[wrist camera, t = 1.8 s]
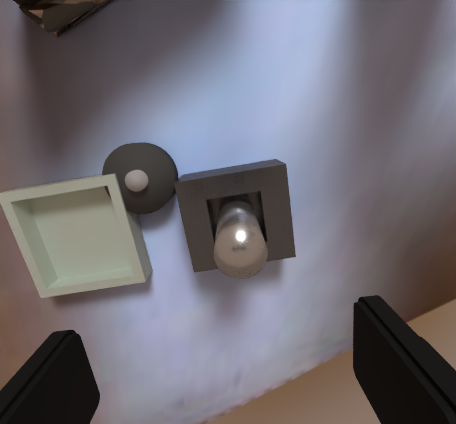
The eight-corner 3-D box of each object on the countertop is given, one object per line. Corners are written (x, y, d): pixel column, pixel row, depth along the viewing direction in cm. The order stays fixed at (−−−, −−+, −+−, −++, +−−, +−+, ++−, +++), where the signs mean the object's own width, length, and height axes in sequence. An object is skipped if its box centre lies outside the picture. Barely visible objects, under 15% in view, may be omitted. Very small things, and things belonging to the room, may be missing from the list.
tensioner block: (275, 159, 27) (286, 163, 23) (284, 237, 30) (295, 256, 25) (182, 174, 28) (173, 182, 23) (199, 250, 30) (194, 272, 26)
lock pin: (250, 190, 27) (263, 225, 17) (254, 222, 28) (270, 274, 18) (216, 196, 28) (209, 233, 17) (222, 227, 29) (218, 281, 18)
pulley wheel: (169, 137, 27) (162, 137, 24) (184, 202, 29) (179, 210, 26) (104, 148, 27) (88, 150, 24) (122, 212, 29) (110, 221, 26)
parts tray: (124, 170, 28) (114, 173, 25) (152, 269, 31) (145, 282, 28) (17, 188, 28) (-4, 194, 26) (56, 284, 32) (40, 298, 29)
